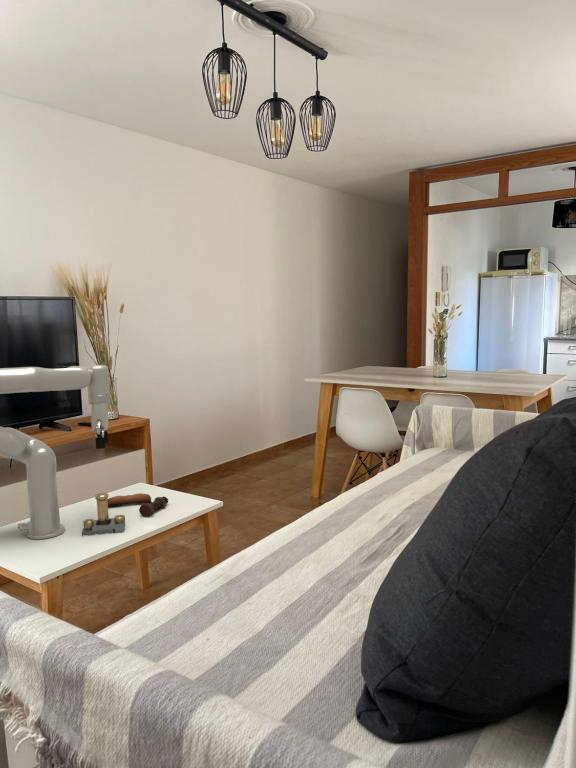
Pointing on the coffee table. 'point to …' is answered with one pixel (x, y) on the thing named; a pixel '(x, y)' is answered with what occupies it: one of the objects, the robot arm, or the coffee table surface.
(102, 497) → the link pin
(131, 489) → the coffee table surface
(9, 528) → the coffee table surface
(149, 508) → the bolt
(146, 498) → the sunglasses case
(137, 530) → the coffee table surface
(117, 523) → the brass knob on bracket
